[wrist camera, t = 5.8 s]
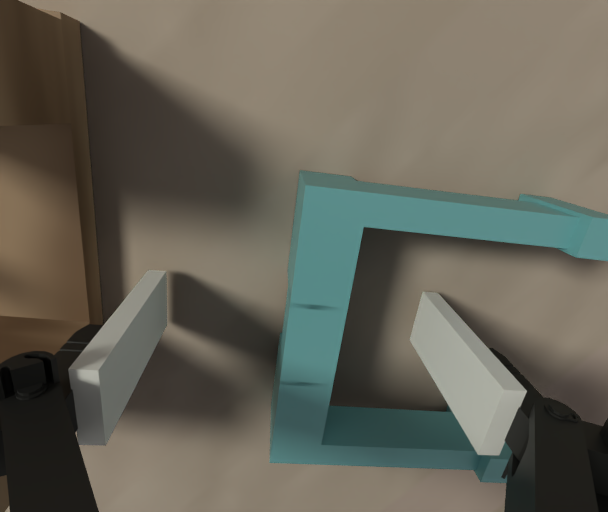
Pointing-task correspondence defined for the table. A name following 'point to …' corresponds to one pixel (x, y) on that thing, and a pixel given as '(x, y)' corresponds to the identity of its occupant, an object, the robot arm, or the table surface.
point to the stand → (44, 187)
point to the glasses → (334, 304)
